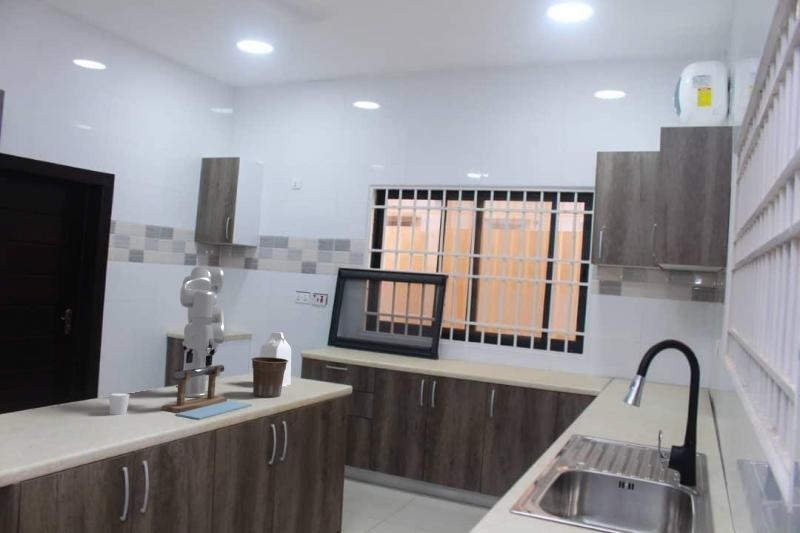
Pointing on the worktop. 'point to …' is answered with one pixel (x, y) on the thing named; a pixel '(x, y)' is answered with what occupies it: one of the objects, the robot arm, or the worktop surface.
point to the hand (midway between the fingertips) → (198, 364)
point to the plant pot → (268, 376)
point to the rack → (197, 402)
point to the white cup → (118, 403)
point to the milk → (278, 353)
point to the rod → (196, 372)
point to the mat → (213, 410)
